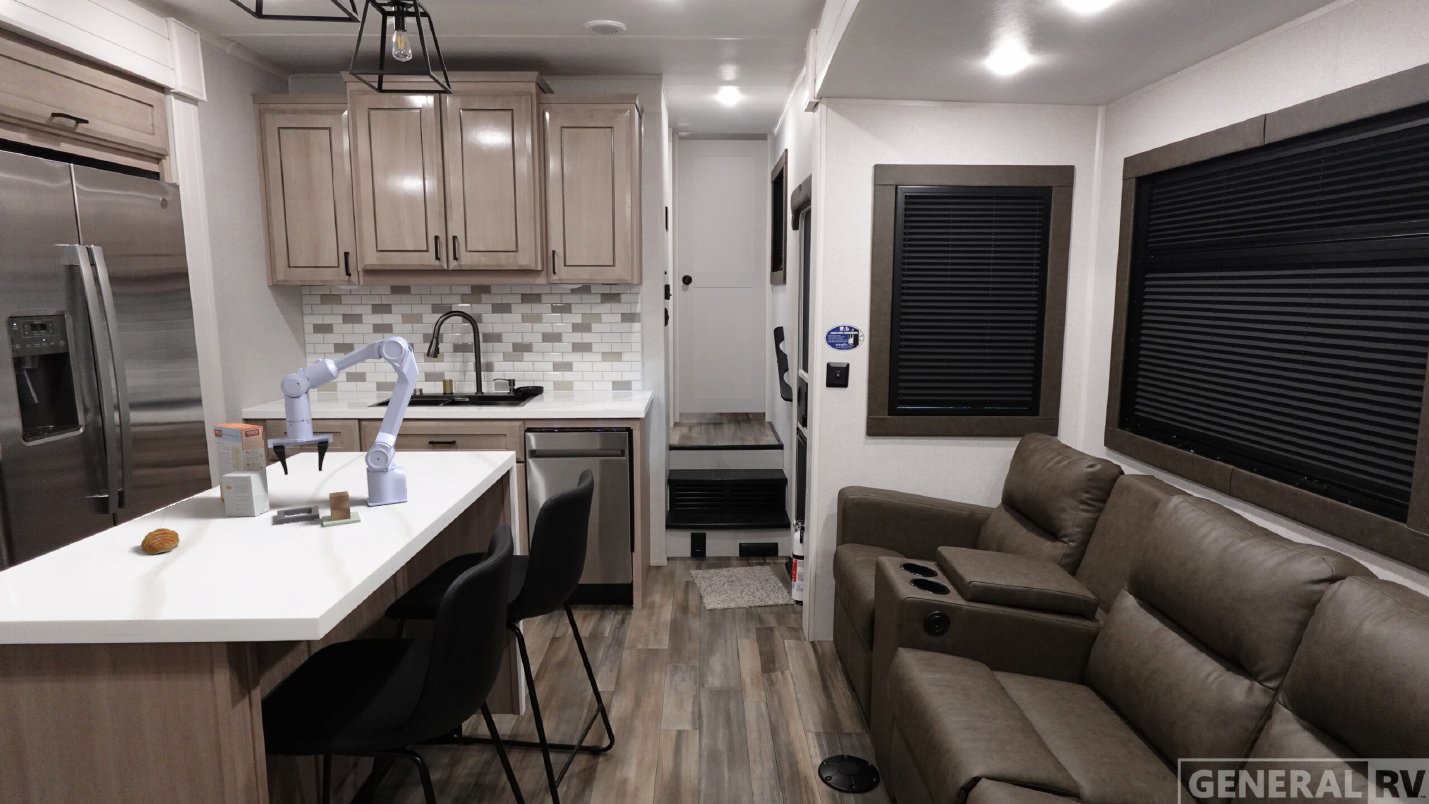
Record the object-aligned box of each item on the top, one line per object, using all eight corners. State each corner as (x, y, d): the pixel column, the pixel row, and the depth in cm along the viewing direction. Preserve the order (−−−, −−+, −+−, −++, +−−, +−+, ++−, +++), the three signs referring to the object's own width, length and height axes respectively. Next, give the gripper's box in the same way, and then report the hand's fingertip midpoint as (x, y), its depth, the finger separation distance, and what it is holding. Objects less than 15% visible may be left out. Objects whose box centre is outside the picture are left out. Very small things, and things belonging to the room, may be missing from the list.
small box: (270, 510, 191) (266, 470, 190) (255, 517, 186) (251, 475, 184) (241, 510, 192) (237, 470, 191) (225, 516, 187) (220, 475, 185)
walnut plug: (349, 514, 185) (347, 491, 184) (350, 518, 182) (348, 494, 181) (331, 517, 183) (329, 493, 182) (332, 521, 180) (330, 497, 179)
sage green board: (357, 513, 188) (357, 511, 188) (360, 521, 181) (360, 519, 181) (322, 518, 184) (321, 516, 184) (323, 527, 177) (323, 524, 177)
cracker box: (271, 503, 198) (263, 425, 195) (246, 508, 193) (239, 429, 190) (244, 495, 206) (236, 421, 203) (220, 501, 201) (212, 424, 198)
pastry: (182, 551, 161) (180, 534, 161) (143, 559, 157) (140, 541, 157) (178, 541, 169) (176, 524, 168) (141, 547, 164) (139, 531, 164)
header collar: (318, 509, 191) (317, 505, 191) (319, 518, 184) (319, 514, 184) (277, 515, 187) (277, 510, 187) (277, 524, 179) (277, 519, 179)
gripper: (265, 425, 183) (270, 479, 185) (331, 419, 191) (335, 471, 192) (266, 421, 189) (271, 473, 191) (330, 416, 197) (334, 466, 198)
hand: (303, 472), depth 192 cm, fingers open, 7 cm apart
